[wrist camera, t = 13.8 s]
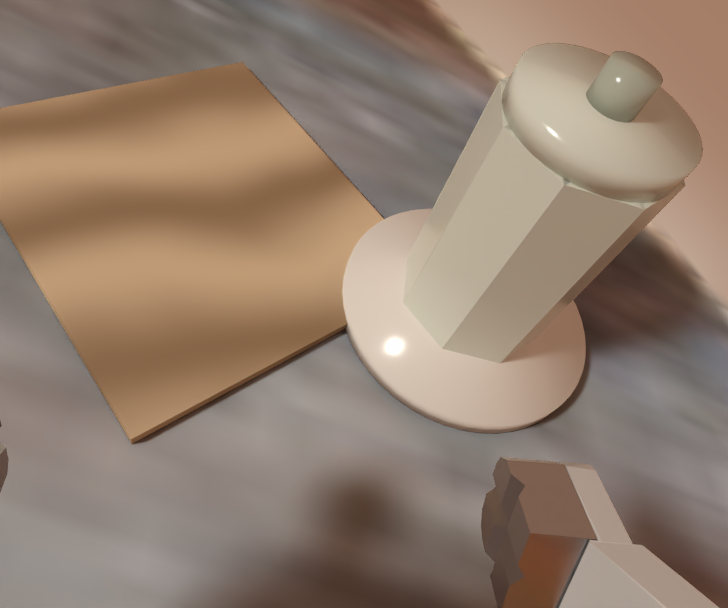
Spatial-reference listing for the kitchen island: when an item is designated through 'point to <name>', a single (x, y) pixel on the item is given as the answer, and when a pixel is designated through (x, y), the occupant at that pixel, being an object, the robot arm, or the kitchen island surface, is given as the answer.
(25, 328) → the kitchen island surface
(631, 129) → the lidded octagonal canister
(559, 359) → the saucer
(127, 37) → the kitchen island surface
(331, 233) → the mat
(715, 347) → the kitchen island surface
